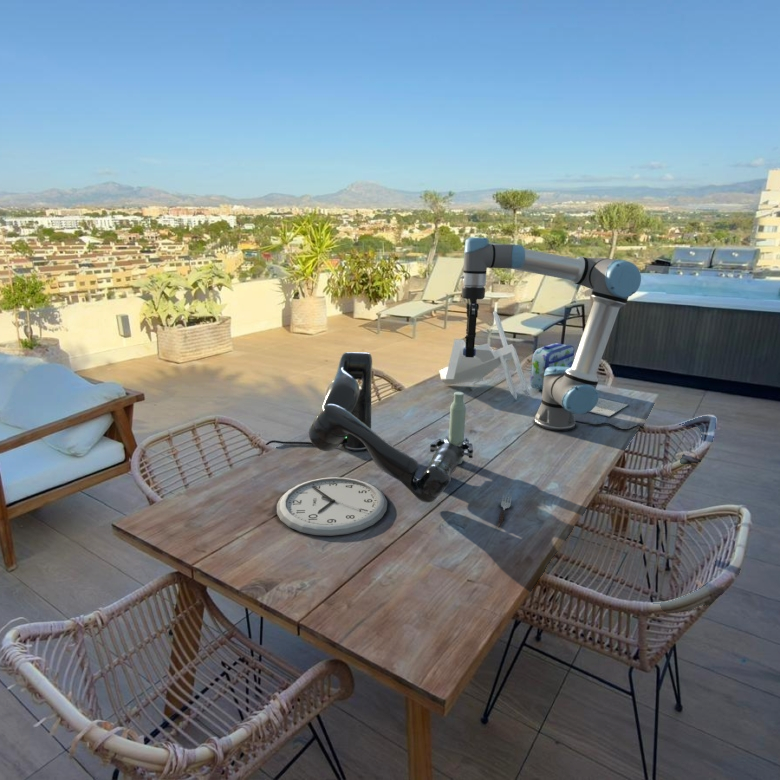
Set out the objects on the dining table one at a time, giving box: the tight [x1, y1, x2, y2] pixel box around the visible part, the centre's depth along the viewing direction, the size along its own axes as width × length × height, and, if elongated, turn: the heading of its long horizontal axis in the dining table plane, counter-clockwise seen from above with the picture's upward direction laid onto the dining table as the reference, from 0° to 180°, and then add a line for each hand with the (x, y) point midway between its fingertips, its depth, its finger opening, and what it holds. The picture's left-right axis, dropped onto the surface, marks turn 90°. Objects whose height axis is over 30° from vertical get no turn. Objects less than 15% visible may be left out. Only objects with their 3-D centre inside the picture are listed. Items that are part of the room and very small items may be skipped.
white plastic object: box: [438, 310, 531, 400], centre depth 245 cm, size 37×45×31 cm
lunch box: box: [530, 342, 575, 391], centre depth 250 cm, size 26×11×21 cm, turn 134°
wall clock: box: [276, 476, 388, 537], centre depth 142 cm, size 30×2×30 cm
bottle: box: [448, 391, 467, 465], centre depth 168 cm, size 5×5×23 cm
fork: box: [497, 493, 513, 528], centre depth 139 cm, size 3×16×2 cm, turn 160°
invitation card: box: [588, 397, 629, 418], centre depth 226 cm, size 21×1×15 cm
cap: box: [463, 347, 476, 356], centre depth 179 cm, size 4×4×2 cm
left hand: (457, 439), depth 171 cm, fingers closed on bottle, 5 cm apart
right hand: (469, 355), depth 179 cm, fingers closed on cap, 4 cm apart
